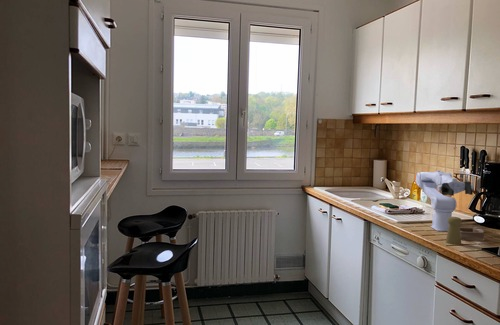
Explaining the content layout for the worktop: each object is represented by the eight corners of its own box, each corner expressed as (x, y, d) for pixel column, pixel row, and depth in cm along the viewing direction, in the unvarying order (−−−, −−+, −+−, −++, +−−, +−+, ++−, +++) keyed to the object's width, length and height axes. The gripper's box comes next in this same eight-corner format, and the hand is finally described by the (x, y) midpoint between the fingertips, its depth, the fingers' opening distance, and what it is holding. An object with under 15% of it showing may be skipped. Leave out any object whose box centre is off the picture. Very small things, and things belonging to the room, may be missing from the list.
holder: (451, 234, 194) (452, 227, 194) (473, 235, 194) (473, 227, 193) (460, 240, 185) (461, 232, 184) (483, 240, 184) (484, 232, 184)
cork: (456, 241, 183) (458, 215, 182) (464, 244, 177) (465, 218, 176) (442, 240, 183) (444, 215, 182) (450, 244, 177) (451, 218, 176)
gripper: (434, 176, 196) (444, 184, 182) (467, 174, 194) (480, 182, 181) (434, 191, 197) (444, 200, 184) (467, 189, 196) (479, 198, 183)
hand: (462, 192), depth 183 cm, fingers open, 7 cm apart
